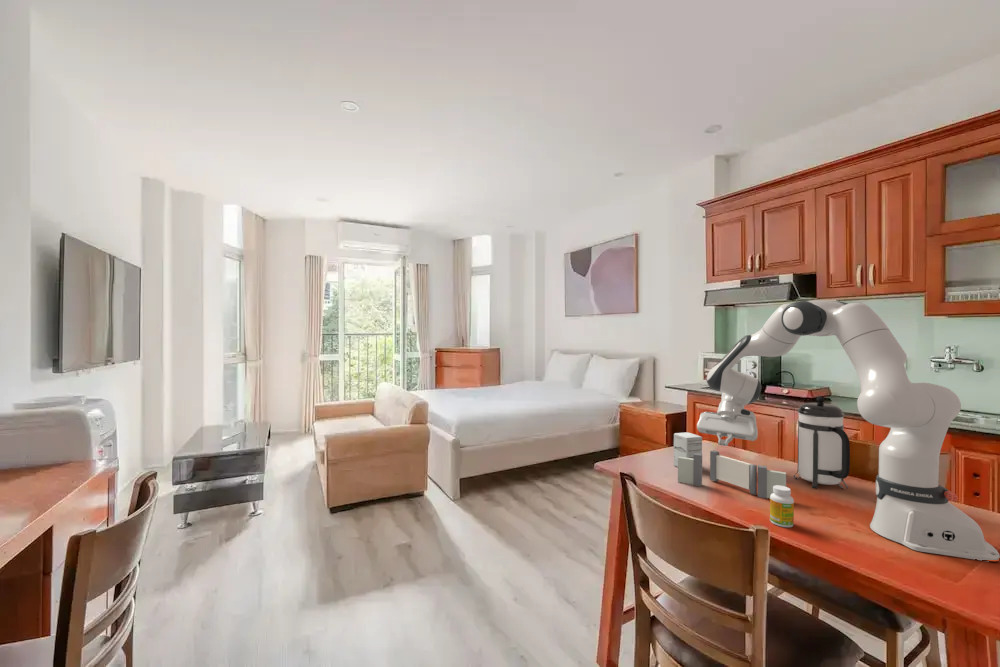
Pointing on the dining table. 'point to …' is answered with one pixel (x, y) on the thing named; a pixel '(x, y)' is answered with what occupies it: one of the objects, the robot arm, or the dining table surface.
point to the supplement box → (686, 445)
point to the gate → (733, 471)
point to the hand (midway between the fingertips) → (722, 444)
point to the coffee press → (822, 444)
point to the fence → (693, 475)
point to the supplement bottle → (781, 506)
